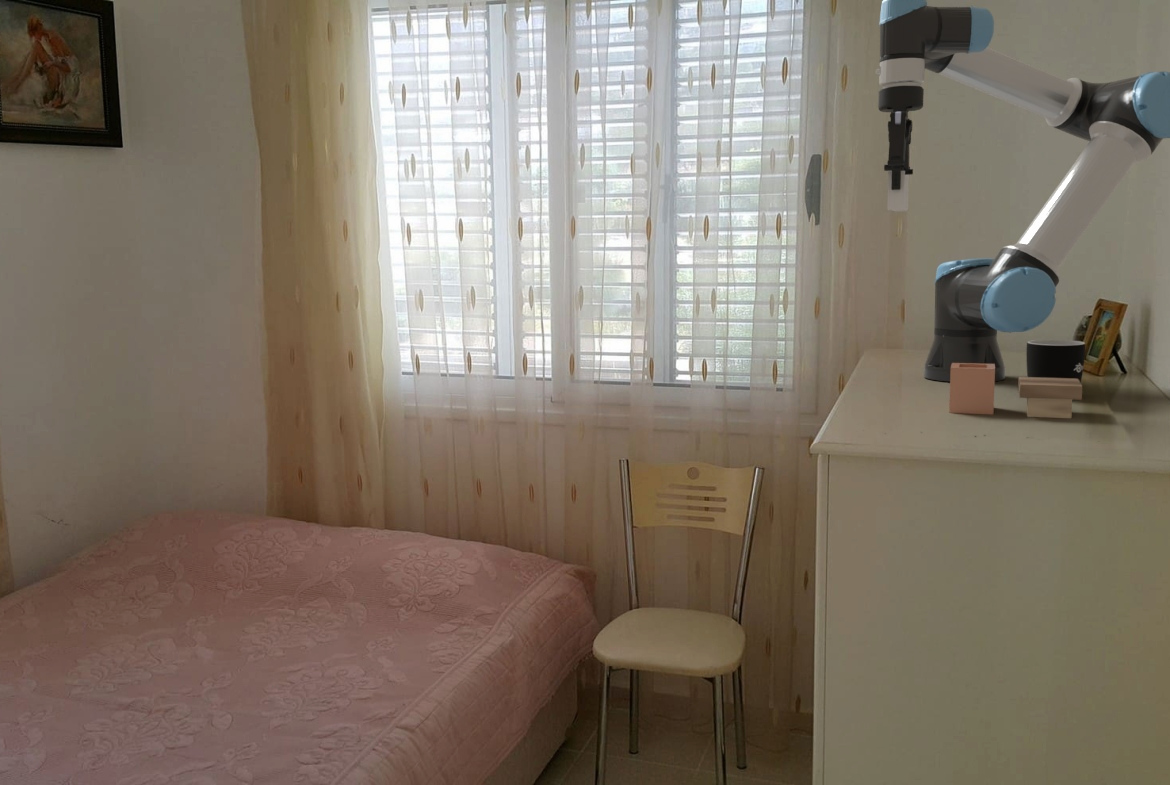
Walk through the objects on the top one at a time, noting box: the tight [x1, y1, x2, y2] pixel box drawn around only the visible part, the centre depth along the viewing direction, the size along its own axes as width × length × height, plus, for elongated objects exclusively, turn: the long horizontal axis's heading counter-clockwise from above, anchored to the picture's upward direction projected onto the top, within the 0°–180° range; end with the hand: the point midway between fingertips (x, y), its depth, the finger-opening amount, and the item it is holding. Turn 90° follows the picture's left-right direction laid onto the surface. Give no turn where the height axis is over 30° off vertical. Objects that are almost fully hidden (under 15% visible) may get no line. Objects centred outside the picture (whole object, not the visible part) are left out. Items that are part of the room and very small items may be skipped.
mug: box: [1025, 339, 1086, 384], centre depth 172 cm, size 12×9×10 cm
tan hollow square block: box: [948, 363, 996, 415], centre depth 160 cm, size 6×6×8 cm
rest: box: [1025, 398, 1073, 419], centre depth 155 cm, size 6×6×4 cm
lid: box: [1017, 376, 1083, 401], centre depth 155 cm, size 8×8×2 cm
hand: (898, 210), depth 180 cm, fingers open, 13 cm apart
